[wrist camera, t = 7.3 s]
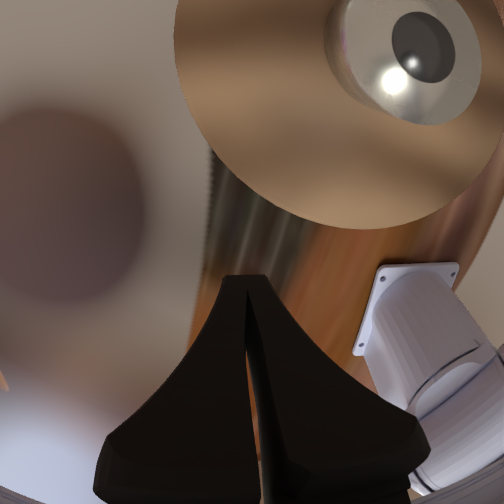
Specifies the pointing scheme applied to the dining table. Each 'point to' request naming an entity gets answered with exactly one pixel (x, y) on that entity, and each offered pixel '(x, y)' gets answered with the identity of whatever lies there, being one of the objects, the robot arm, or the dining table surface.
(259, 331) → the robot arm
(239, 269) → the dining table surface
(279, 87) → the turntable
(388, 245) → the dining table surface
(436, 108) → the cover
